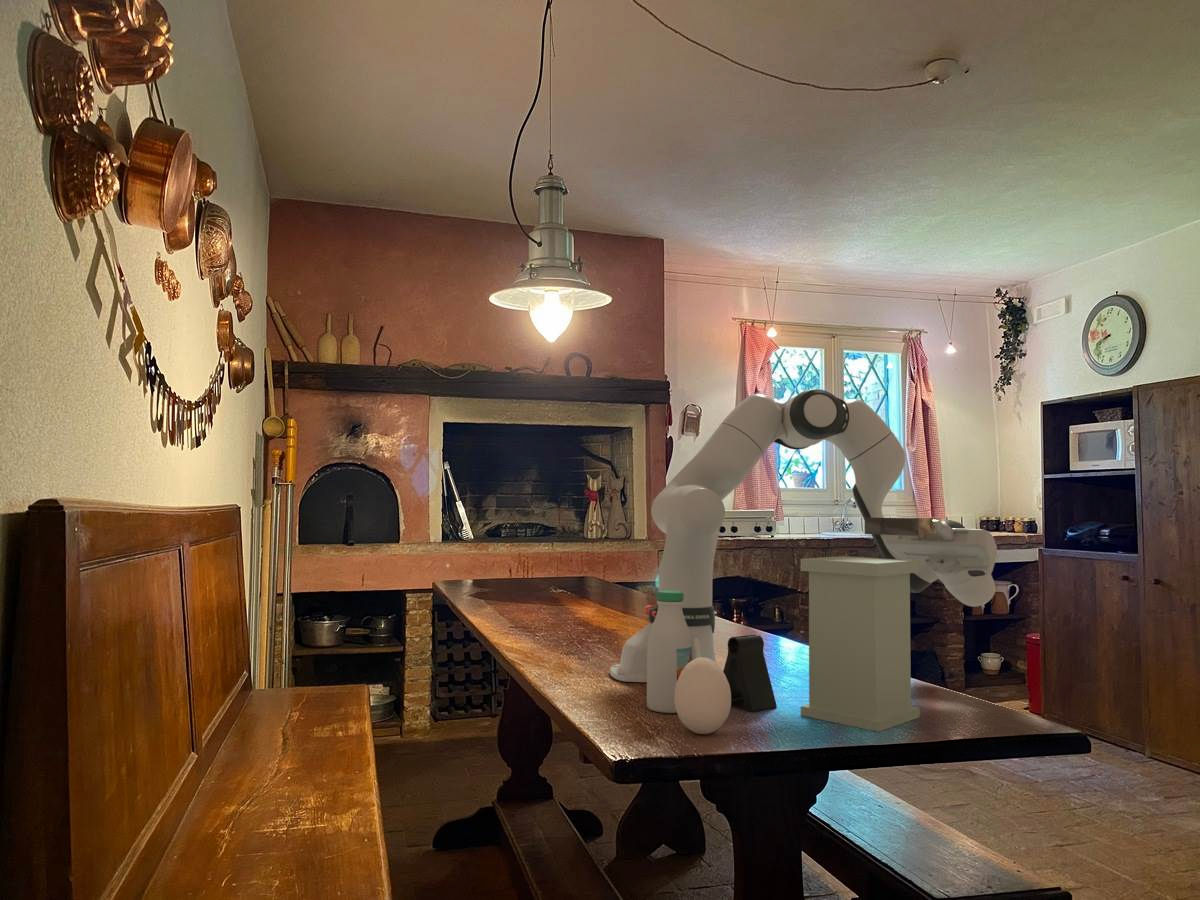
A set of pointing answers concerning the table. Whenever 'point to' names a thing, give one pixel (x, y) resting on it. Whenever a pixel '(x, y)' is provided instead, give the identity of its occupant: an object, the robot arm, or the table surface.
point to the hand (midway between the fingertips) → (922, 523)
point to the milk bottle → (667, 651)
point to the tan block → (899, 526)
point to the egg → (702, 696)
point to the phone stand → (748, 674)
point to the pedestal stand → (860, 641)
